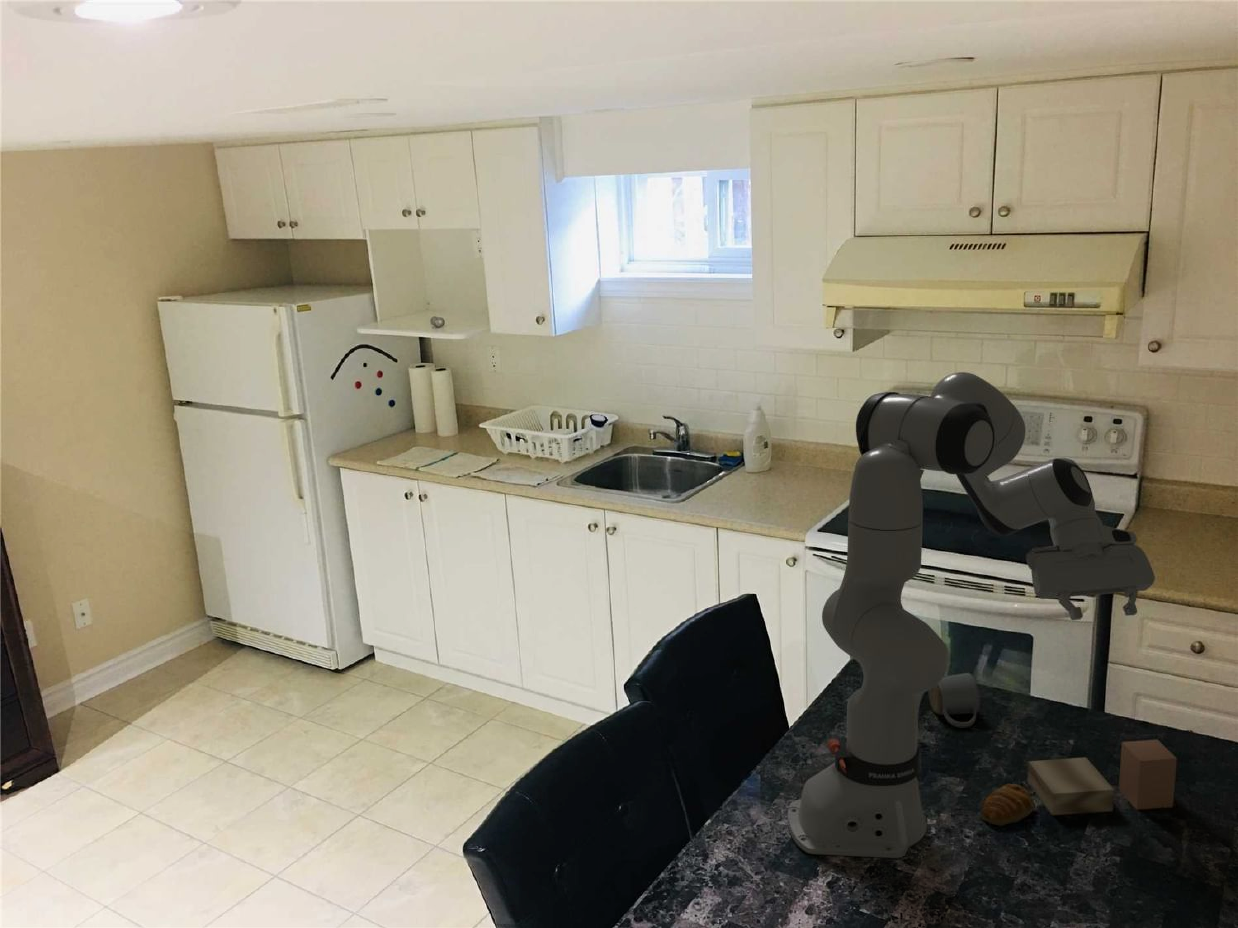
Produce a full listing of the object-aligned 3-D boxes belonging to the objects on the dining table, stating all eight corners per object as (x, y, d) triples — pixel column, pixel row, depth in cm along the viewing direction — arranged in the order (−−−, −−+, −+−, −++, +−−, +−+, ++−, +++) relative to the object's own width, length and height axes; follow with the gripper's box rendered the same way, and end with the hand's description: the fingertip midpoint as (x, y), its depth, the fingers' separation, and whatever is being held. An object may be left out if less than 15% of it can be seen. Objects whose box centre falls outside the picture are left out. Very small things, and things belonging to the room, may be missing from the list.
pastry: (1007, 835, 167) (1008, 814, 166) (970, 817, 172) (970, 797, 171) (1038, 810, 173) (1038, 790, 172) (1001, 795, 178) (1001, 775, 177)
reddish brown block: (1136, 809, 171) (1140, 760, 169) (1118, 789, 177) (1121, 741, 175) (1172, 806, 171) (1176, 758, 169) (1153, 786, 177) (1157, 739, 175)
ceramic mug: (925, 704, 209) (926, 669, 207) (965, 700, 210) (966, 666, 207) (944, 731, 199) (945, 695, 197) (986, 727, 199) (988, 691, 197)
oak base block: (1052, 815, 171) (1053, 793, 170) (1027, 781, 181) (1028, 761, 180) (1112, 810, 171) (1114, 789, 170) (1084, 777, 181) (1085, 757, 180)
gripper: (1028, 541, 183) (1050, 614, 176) (1144, 531, 183) (1170, 604, 176) (1018, 556, 189) (1038, 627, 182) (1130, 547, 189) (1155, 618, 182)
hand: (1104, 616), depth 179 cm, fingers open, 8 cm apart
